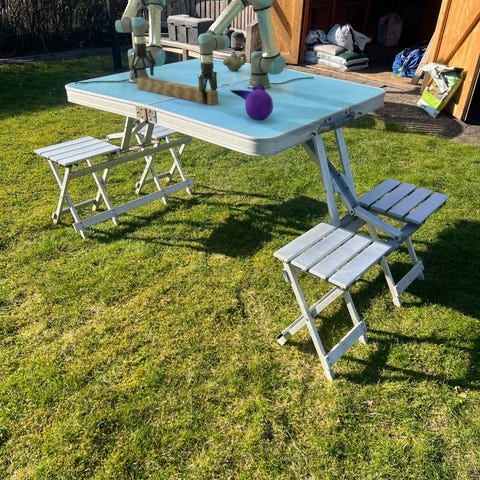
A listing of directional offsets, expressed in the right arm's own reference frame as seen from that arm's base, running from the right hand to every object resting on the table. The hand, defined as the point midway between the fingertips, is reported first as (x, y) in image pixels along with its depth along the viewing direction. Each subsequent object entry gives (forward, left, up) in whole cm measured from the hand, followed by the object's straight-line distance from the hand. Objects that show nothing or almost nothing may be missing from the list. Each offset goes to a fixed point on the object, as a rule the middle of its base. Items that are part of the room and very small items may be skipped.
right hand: (208, 102), depth 276 cm
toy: (+12, +42, 0) cm, 44 cm away
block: (-3, -32, 0) cm, 32 cm away
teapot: (-95, -52, 0) cm, 108 cm away
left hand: (-7, -63, +8) cm, 64 cm away
